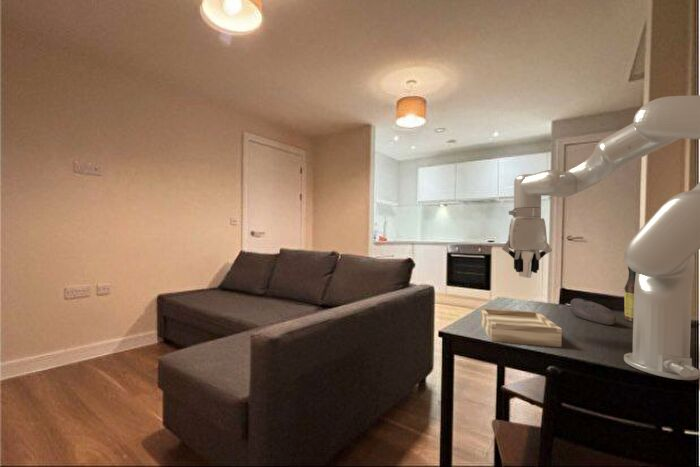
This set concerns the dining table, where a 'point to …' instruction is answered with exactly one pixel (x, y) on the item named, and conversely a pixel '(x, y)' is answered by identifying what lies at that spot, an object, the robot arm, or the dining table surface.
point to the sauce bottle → (629, 295)
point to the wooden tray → (520, 327)
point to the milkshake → (526, 263)
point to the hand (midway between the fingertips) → (526, 271)
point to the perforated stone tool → (592, 311)
